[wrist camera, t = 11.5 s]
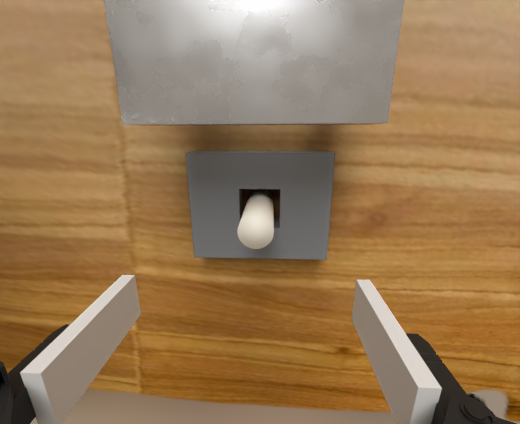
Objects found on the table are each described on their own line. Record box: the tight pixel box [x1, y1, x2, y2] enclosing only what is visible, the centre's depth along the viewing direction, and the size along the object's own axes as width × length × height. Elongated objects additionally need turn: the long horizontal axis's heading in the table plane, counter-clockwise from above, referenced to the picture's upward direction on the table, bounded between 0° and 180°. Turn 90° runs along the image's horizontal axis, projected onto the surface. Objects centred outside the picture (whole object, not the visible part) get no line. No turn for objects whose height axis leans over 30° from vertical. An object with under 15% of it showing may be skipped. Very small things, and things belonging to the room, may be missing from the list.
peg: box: [237, 189, 274, 249], centre depth 31 cm, size 4×4×12 cm
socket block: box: [186, 151, 335, 260], centre depth 35 cm, size 18×14×4 cm
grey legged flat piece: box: [104, 0, 404, 126], centre depth 25 cm, size 20×12×15 cm, turn 90°
